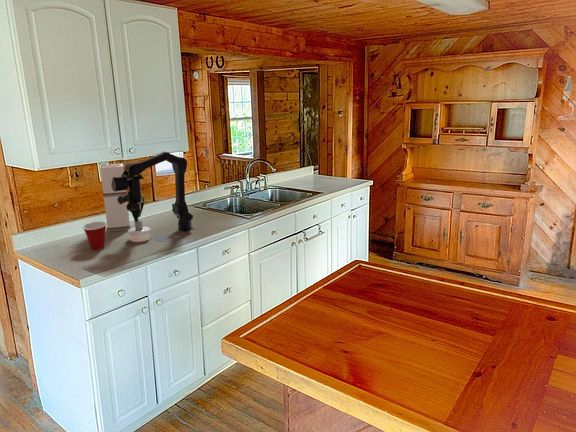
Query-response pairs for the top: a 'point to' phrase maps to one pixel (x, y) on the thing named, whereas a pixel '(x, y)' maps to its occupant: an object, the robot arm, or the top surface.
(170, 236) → the mat
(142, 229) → the lid
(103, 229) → the plastic cup
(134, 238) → the bowl
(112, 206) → the mini fridge
